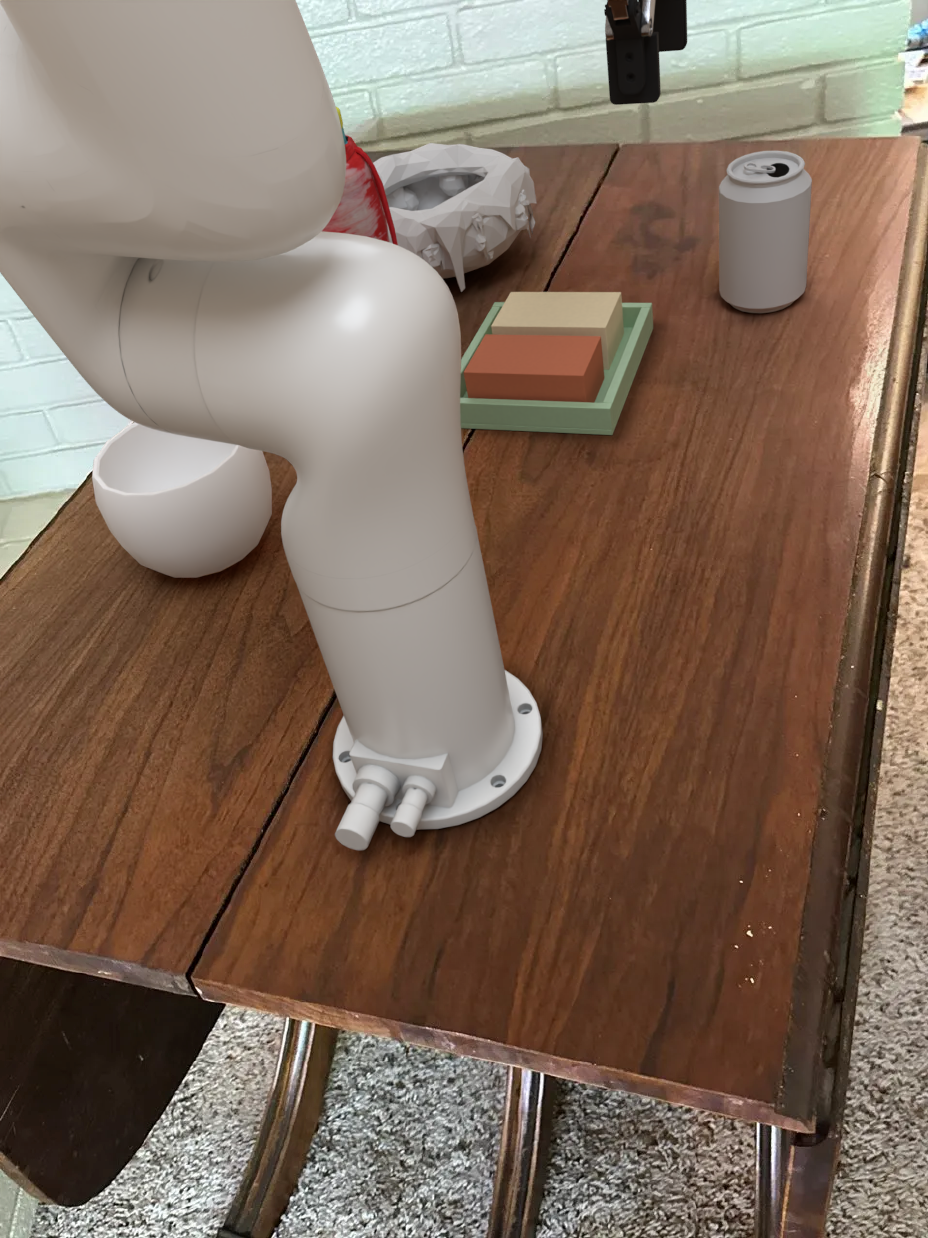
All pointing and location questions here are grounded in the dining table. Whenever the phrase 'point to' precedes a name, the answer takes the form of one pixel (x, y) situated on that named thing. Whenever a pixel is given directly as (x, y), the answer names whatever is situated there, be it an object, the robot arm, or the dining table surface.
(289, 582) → the dining table surface
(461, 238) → the bowl
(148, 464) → the cup
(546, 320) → the pad beige
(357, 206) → the water bottle
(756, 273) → the can
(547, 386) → the pad terracotta
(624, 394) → the frame
